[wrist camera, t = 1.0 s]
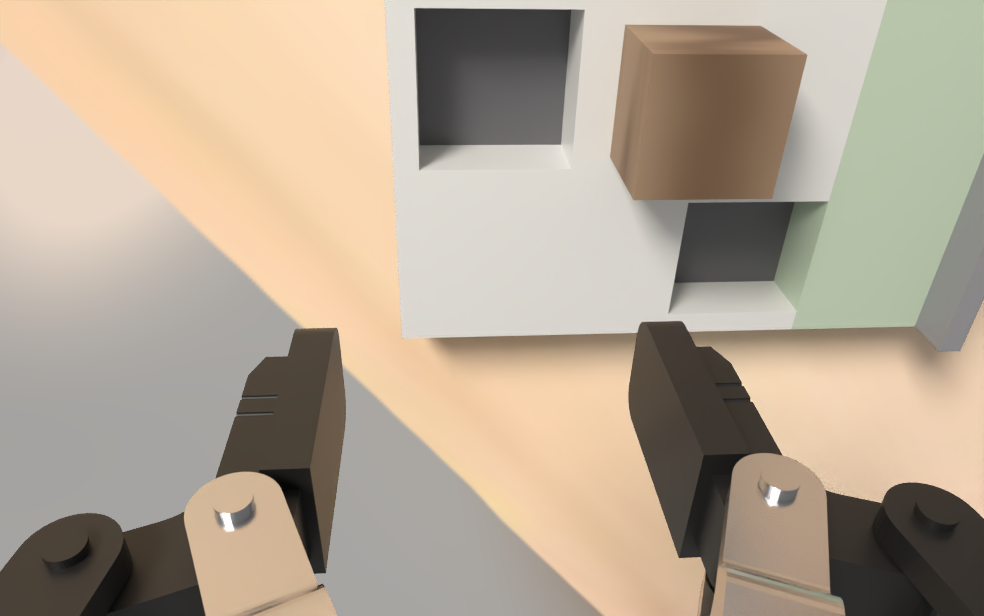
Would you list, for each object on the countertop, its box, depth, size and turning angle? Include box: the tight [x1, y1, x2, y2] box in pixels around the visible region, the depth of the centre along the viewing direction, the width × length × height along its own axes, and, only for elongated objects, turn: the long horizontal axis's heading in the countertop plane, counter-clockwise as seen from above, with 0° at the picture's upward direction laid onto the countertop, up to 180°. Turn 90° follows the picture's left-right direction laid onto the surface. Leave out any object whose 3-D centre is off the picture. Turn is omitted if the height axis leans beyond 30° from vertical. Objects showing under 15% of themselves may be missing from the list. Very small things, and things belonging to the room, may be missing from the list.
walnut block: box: [610, 25, 807, 200], centre depth 27 cm, size 5×5×4 cm
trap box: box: [385, 0, 984, 352], centre depth 31 cm, size 25×16×5 cm, turn 89°
